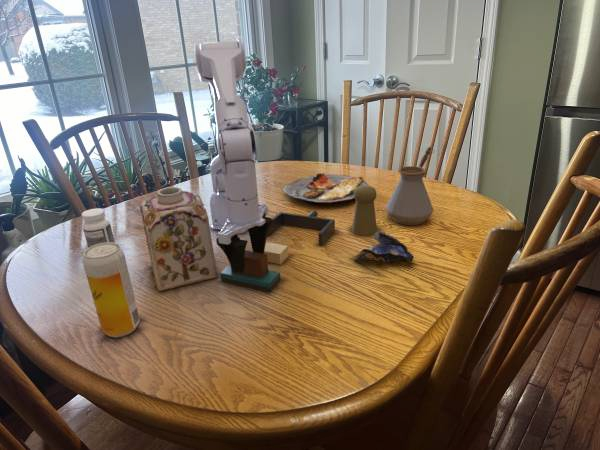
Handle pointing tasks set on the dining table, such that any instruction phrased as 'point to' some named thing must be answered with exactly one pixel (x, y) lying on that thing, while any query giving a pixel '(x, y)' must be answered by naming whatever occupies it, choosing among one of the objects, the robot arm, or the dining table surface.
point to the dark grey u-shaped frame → (305, 223)
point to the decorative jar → (178, 238)
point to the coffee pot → (411, 196)
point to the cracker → (276, 252)
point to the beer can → (111, 288)
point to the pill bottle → (96, 227)
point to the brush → (253, 273)
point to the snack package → (385, 249)
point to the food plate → (324, 188)
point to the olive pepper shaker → (364, 211)
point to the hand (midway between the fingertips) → (248, 261)
